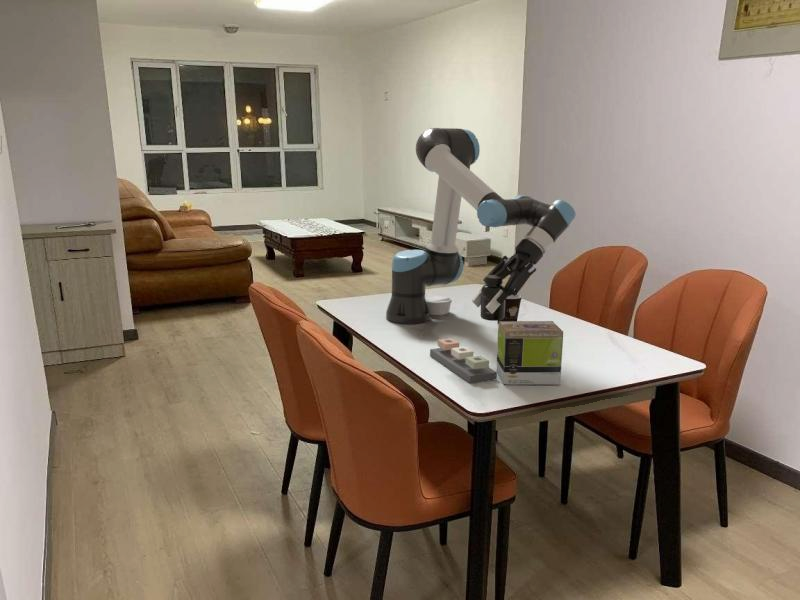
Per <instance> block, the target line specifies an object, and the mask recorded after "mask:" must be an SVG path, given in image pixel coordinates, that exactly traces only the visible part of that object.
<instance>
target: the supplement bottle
mask: <svg viewBox="0 0 800 600" xmlns="http://www.w3.org/2000/svg"><path fill="white" fill-rule="evenodd" d="M484 278H485V282H484V285H483V286H482V287H481V289H480V290H481V305H480V317H481V319H482V320H485V321H489V322H490V321H492V322H495V321H496V322H497V321H498V320H502V319H503V318H504V317H505V301H504V302H503V303H502V304H500V306H499V307H498V308H497V309H496V310H495V312H494V313H493V314H492V313H491V312H490V311H489V310H488V309H487V308H486V306H487V305H488V304H489V302H490V301H491V300H492V299H493V298H494V297H495V295H496V294H497V293H498V292H499V291H500V289H501V290H503V289H502V288H503V287H505V285H503V284H504V282H503V280H504V279H503V277H502V276H499V275H488V274H487V275H486V276H484ZM485 283H486V285H485ZM503 291H504V290H503Z"/></svg>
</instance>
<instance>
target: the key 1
mask: <svg viewBox="0 0 800 600" xmlns="http://www.w3.org/2000/svg"><path fill="white" fill-rule="evenodd" d="M437 347H438V348H442V349H443V350H445V351H446V350H451V348H457V347H460V342H459V341H457V340H455V339H454V338H453V337H450V338H443V339H442V338H441V339H437Z"/></svg>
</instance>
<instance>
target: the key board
mask: <svg viewBox="0 0 800 600" xmlns="http://www.w3.org/2000/svg"><path fill="white" fill-rule="evenodd" d="M429 357H431V358H432V357H433V358H432V359H434V360H435V359H436V362H438V361H439V362H438V363H440V364H442V365H443V366H444V367H445V368H447V369H449V370H450V371H451V372H453V373H454V374H455V375H457V376H458V377H460V378H461V379H463V380H465V381H466V383H468V384H475V383H476V384H477V383H482V381H483V382H488V380H490V381H495V380H494V379H496V380H497V375H498V373H497V371H496V370H493V369H492V368H490V366H489V367H487V368H480V369H473V368H471V367H470V366H468V365H466V364H465V360H466V359H457V358H456V357H454V356H453V355H451V350H446V351H445V350H443V349H442V348H440V347H438V348H430V350H429Z"/></svg>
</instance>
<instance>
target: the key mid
mask: <svg viewBox="0 0 800 600" xmlns="http://www.w3.org/2000/svg"><path fill="white" fill-rule="evenodd" d="M474 354H475V353H474V350H472V349H470V348H469V347H467V346H459V347H457V348H451V355H453V356H454V357H456V358H457V359H466V357H472V356H475V355H474Z"/></svg>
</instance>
